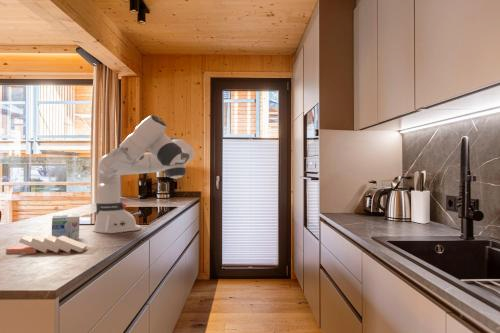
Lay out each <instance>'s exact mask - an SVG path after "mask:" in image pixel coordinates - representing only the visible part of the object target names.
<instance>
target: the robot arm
mask: <svg viewBox="0 0 500 333" xmlns="http://www.w3.org/2000/svg"><path fill="white" fill-rule="evenodd" d="M166 128H167V124H166V123H165V121H163V119H162V118H159V116H157V115H155V114H154V115H153V114H150V115H149V116H147V117H146V118H144V119H143V120H142V121H140V123H139V124H138V125H136V127H135V128H134V130H133V132H132V133H130V134H129V135H127V136H126V138H125V139H124V140H123V141H122V142H121V143H120V144H119V147H115V148H113V149H112V150H111V151H110V152H108V153H107V154H104V155H102V156H101V157H100V158H99V159H98V162H97V174H96V176H97V178H96V179H97V182H96V185H97V192H96V194H97V196H96V203H95V214H96V215H95V216H96V217H95V222H94V226H93V230H92V231H93V232H95V233H101V234H102V233H103V234H114V233H116V234H117V233H124V232H131V231H132V232H133V231H139V230H141V226H140V224H137V223H136V218H135V216H134V215H133V214H132V213H130V212H129V211H127V210H126V209H125V208H127V204H126V203H123V202H121V195H122V194H121V193H122V192H121V188H122V187H121V176H125V175H126V176H127V175H139V174H150V173H159V172H162V173H163V174H165V176H166V177H168V178H170V179H176V180H177V179H180V178H182V177H184V176H185V175H186V172H187V168H186V164H187V163H190V162H191V161H192V160H193V159H194V158H195V151H194V148H193V147H192V146H191V144H190V143H188V142H186V141H185V140H183V139H180V138H178V137H169V136H168V135H167V134H166V132H165V130H166ZM147 151H149V152H147Z"/></svg>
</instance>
